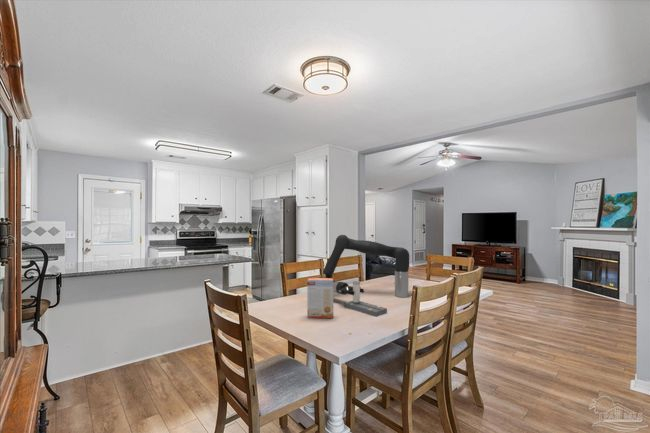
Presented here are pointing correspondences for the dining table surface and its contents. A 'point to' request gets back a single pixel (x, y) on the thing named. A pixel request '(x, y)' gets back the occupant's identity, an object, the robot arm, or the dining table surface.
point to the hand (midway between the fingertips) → (358, 292)
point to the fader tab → (356, 292)
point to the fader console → (366, 308)
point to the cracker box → (320, 297)
